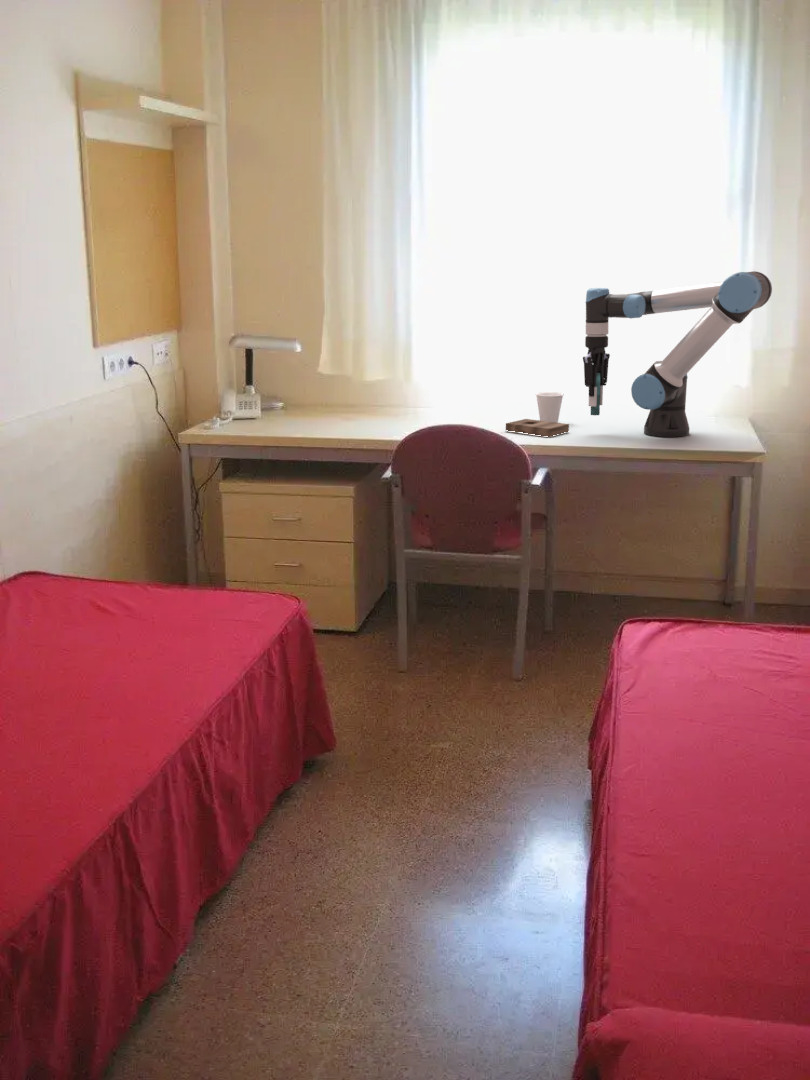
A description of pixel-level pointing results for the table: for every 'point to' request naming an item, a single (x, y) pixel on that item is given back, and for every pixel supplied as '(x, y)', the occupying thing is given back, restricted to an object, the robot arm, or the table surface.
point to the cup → (549, 405)
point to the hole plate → (537, 427)
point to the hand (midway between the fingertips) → (595, 405)
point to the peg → (597, 409)
